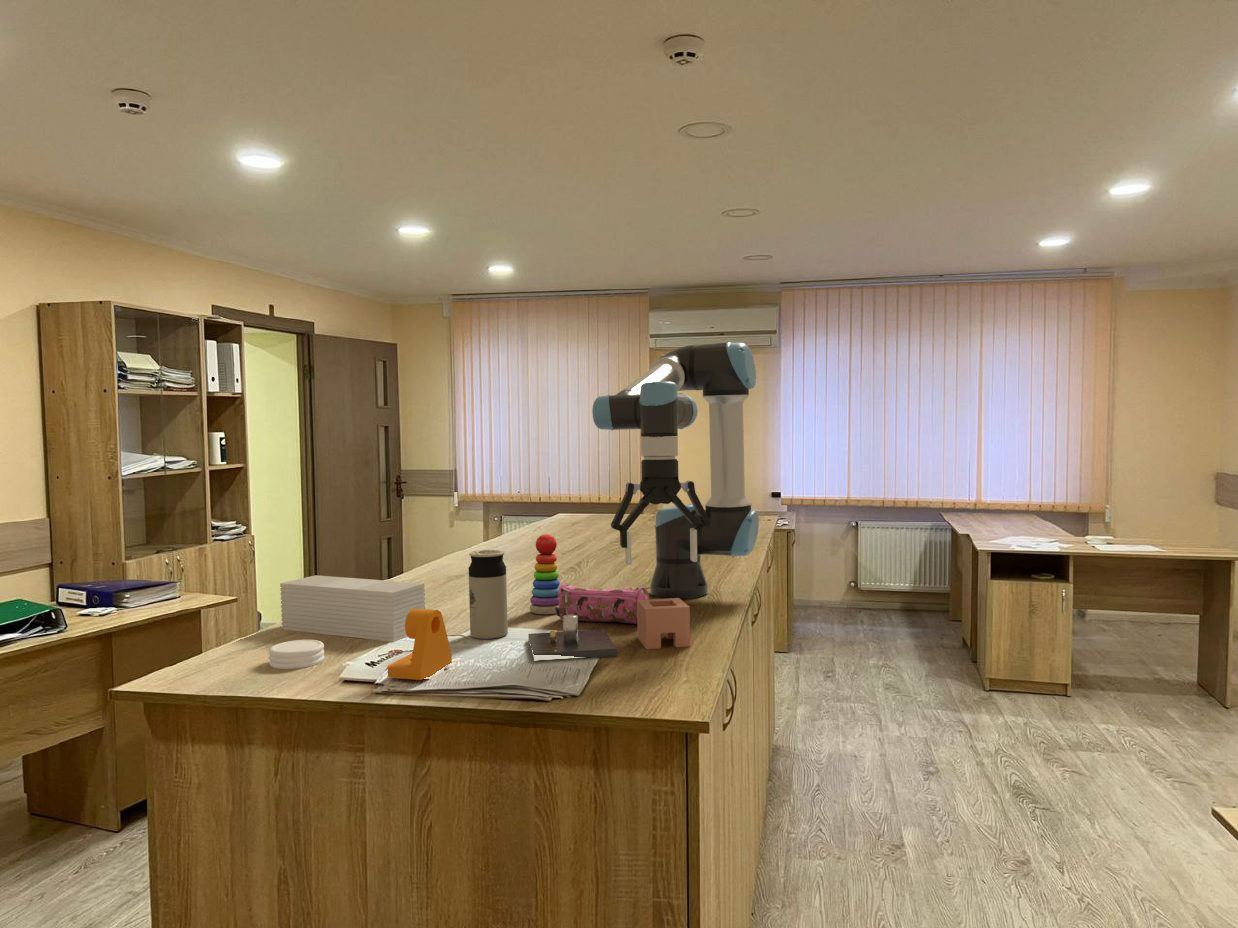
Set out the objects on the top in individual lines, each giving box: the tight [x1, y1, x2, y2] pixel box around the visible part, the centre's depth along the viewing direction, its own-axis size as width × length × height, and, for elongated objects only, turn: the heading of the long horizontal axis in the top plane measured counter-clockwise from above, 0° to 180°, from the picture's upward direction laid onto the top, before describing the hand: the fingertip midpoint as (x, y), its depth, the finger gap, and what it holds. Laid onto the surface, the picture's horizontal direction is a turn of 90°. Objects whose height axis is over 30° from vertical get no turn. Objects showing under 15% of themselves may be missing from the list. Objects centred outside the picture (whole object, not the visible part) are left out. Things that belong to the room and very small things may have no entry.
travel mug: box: [468, 549, 509, 640], centre depth 182 cm, size 8×8×18 cm
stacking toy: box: [529, 533, 561, 615], centre depth 204 cm, size 8×8×19 cm
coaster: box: [268, 639, 326, 670], centre depth 164 cm, size 10×10×4 cm
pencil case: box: [555, 582, 650, 625], centre depth 192 cm, size 21×9×9 cm, turn 69°
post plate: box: [528, 615, 618, 658], centre depth 170 cm, size 16×16×6 cm
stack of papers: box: [279, 575, 426, 643], centre depth 189 cm, size 32×11×11 cm, turn 65°
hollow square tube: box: [636, 598, 691, 650], centre depth 173 cm, size 9×9×8 cm
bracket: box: [387, 608, 453, 681], centre depth 154 cm, size 11×7×12 cm, turn 162°
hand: (661, 562), depth 172 cm, fingers open, 13 cm apart
